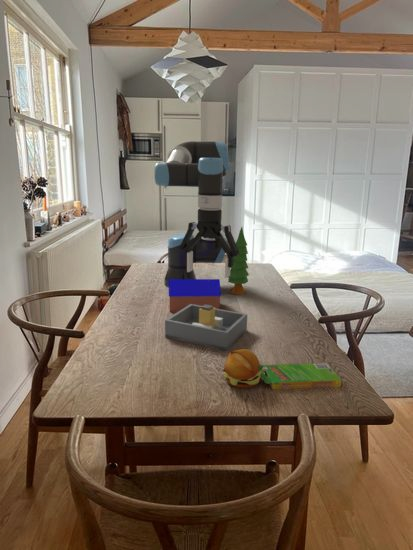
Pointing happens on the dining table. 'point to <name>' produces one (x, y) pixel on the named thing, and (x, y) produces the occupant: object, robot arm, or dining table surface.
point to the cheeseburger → (242, 369)
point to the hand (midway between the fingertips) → (208, 273)
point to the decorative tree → (239, 266)
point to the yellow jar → (207, 315)
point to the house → (194, 293)
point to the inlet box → (206, 327)
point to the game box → (300, 376)
